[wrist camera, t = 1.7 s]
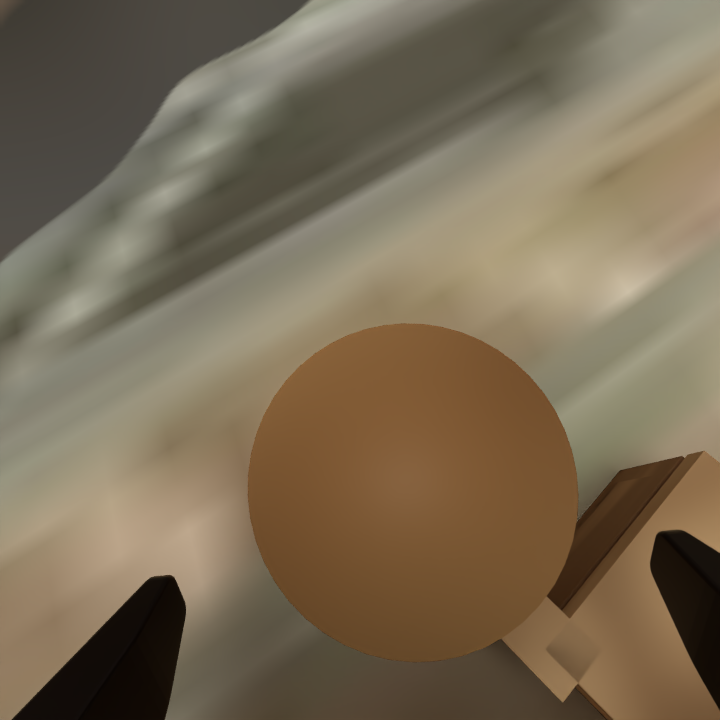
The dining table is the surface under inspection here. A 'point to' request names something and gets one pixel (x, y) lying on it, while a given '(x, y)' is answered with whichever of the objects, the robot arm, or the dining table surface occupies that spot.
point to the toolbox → (608, 529)
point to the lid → (630, 615)
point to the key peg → (413, 492)
